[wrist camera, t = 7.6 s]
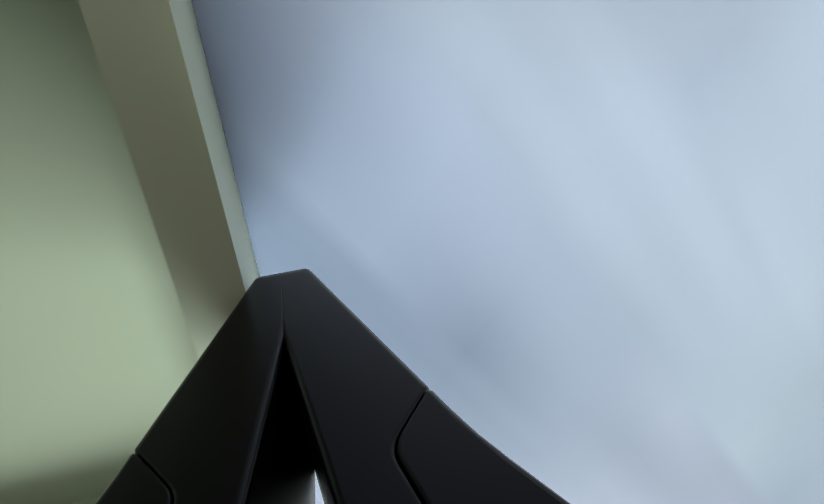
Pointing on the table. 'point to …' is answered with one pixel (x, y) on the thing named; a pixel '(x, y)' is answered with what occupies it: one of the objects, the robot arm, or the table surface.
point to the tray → (106, 234)
